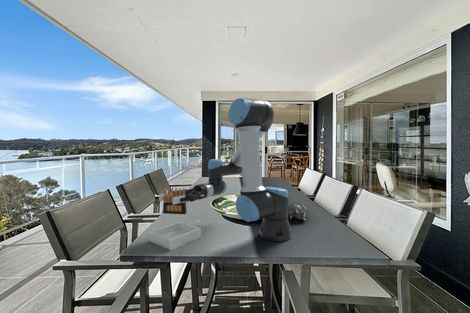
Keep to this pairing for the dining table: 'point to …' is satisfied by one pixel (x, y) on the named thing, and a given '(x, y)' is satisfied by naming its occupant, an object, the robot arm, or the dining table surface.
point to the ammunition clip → (168, 202)
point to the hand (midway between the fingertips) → (166, 199)
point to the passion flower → (298, 211)
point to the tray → (174, 235)
